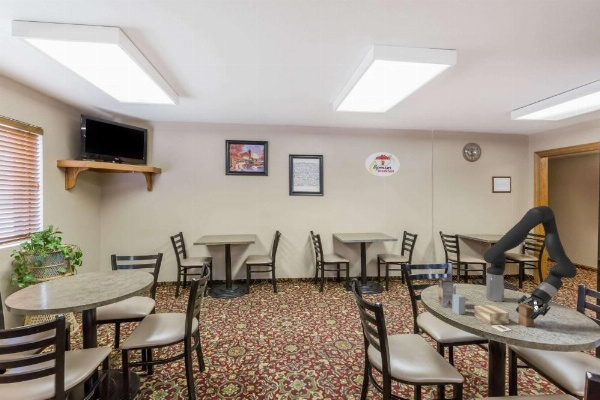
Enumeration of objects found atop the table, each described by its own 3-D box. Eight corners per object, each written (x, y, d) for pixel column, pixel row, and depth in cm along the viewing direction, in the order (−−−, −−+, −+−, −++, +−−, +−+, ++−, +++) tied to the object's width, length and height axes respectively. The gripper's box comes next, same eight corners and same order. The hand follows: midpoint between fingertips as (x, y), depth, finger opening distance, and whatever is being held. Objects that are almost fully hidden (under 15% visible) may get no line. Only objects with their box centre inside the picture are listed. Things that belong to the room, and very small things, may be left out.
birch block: (491, 315, 161) (491, 305, 161) (508, 323, 150) (508, 312, 150) (474, 316, 159) (474, 305, 159) (490, 324, 148) (490, 313, 148)
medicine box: (455, 298, 187) (456, 285, 187) (454, 300, 184) (454, 287, 184) (443, 295, 193) (443, 283, 193) (441, 297, 189) (441, 284, 189)
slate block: (458, 310, 166) (458, 294, 166) (464, 313, 162) (465, 296, 162) (452, 311, 165) (452, 294, 165) (458, 314, 161) (458, 297, 160)
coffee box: (437, 301, 181) (438, 276, 180) (448, 302, 179) (449, 277, 179) (442, 307, 172) (442, 280, 171) (453, 308, 170) (453, 281, 170)
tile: (500, 325, 147) (500, 324, 147) (511, 330, 141) (511, 329, 141) (491, 326, 146) (491, 325, 146) (502, 331, 140) (502, 330, 140)
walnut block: (526, 322, 151) (526, 304, 151) (533, 326, 146) (534, 307, 146) (518, 323, 150) (518, 304, 150) (526, 327, 146) (526, 307, 146)
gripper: (527, 284, 156) (508, 305, 155) (553, 292, 142) (532, 315, 141) (535, 293, 157) (516, 314, 155) (562, 302, 142) (541, 325, 141)
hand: (524, 315), depth 148 cm, fingers open, 8 cm apart
